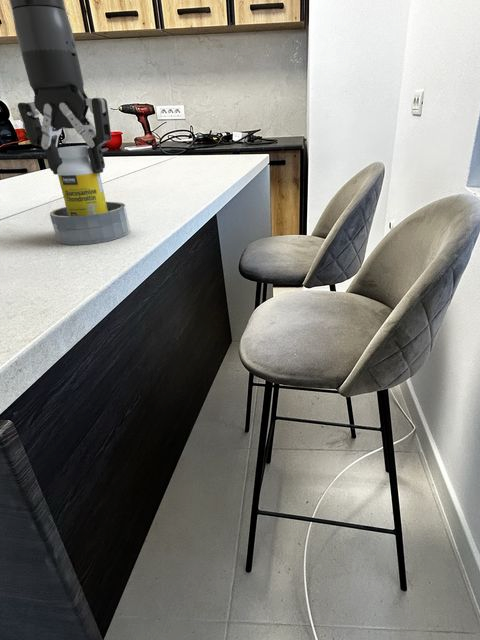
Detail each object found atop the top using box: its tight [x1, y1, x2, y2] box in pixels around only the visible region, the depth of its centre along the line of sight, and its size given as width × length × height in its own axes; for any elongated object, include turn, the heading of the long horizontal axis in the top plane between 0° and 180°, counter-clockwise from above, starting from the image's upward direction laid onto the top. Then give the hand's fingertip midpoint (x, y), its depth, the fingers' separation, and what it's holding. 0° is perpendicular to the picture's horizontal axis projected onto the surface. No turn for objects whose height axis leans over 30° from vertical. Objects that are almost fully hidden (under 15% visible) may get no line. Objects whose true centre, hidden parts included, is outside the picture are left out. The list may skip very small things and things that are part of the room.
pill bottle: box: [57, 145, 108, 216], centre depth 71 cm, size 6×6×12 cm
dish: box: [49, 201, 131, 246], centre depth 74 cm, size 12×12×4 cm
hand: (78, 173), depth 70 cm, fingers closed on pill bottle, 6 cm apart
